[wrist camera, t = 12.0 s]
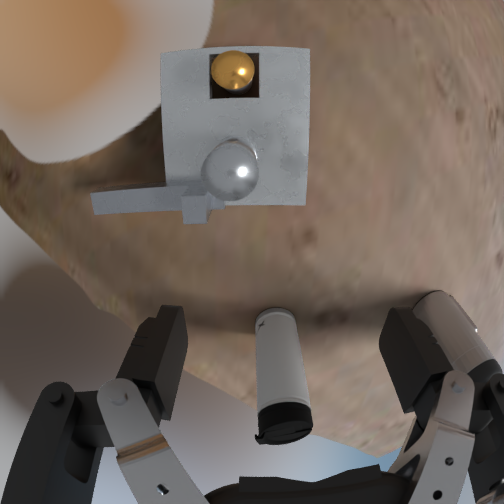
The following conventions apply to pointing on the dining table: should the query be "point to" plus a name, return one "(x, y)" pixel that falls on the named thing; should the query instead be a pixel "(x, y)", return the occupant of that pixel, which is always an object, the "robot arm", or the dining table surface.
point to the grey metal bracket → (225, 138)
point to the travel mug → (280, 380)
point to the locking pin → (233, 71)
